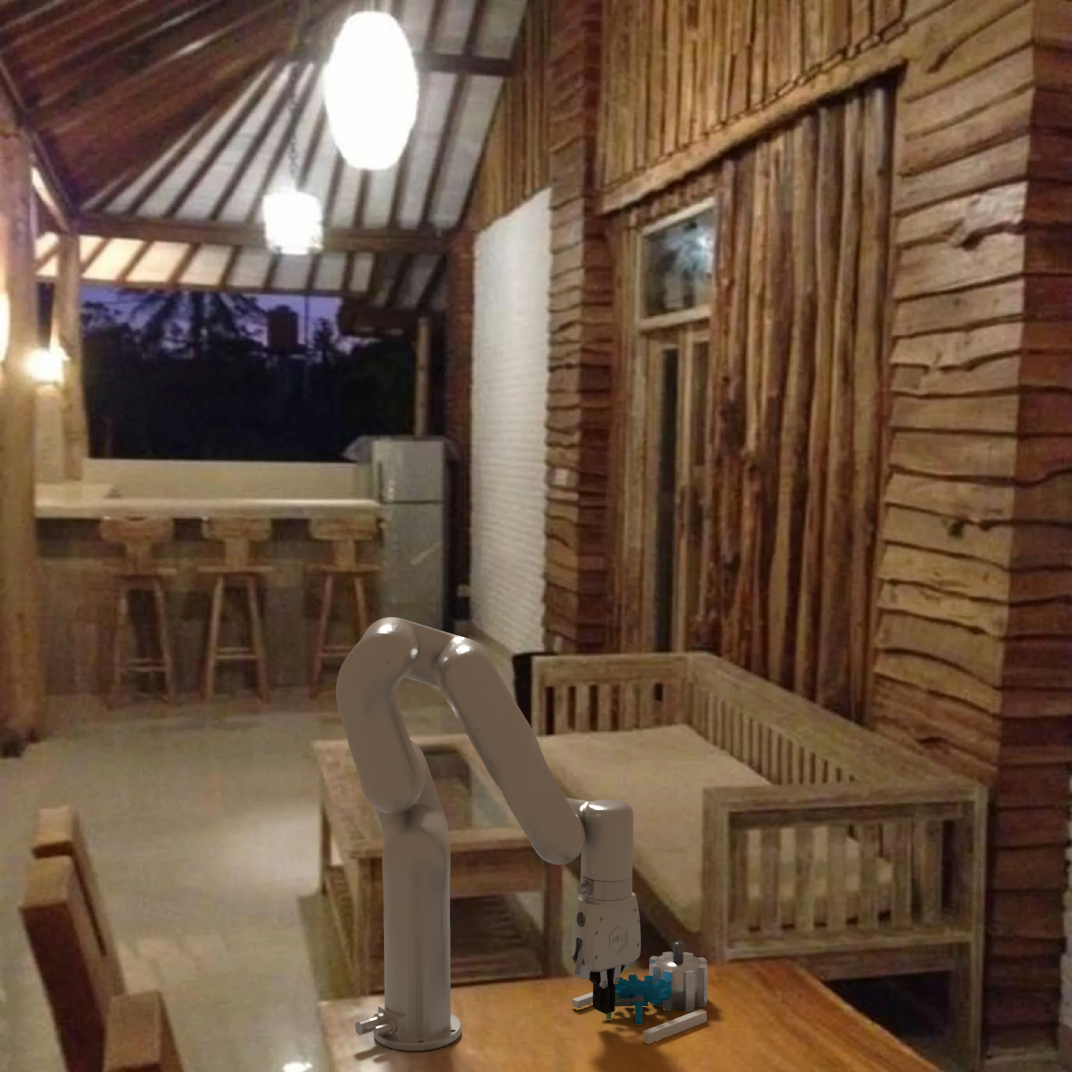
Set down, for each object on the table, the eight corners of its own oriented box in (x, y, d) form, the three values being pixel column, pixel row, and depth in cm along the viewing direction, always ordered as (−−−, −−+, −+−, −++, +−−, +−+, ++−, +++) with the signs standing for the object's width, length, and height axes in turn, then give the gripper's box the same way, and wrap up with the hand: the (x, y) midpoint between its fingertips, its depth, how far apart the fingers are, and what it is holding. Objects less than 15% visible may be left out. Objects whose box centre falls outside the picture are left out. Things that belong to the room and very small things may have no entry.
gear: (676, 996, 201) (665, 968, 194) (677, 1035, 197) (666, 1007, 190) (605, 1000, 203) (591, 972, 196) (605, 1039, 199) (591, 1011, 192)
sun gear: (678, 1017, 198) (679, 957, 197) (637, 999, 204) (637, 941, 204) (719, 1001, 203) (719, 944, 203) (677, 984, 210) (677, 928, 210)
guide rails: (648, 1044, 188) (648, 1033, 188) (572, 1008, 201) (572, 998, 201) (706, 1021, 196) (706, 1011, 196) (629, 988, 208) (629, 979, 208)
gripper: (584, 903, 185) (582, 1031, 186) (661, 883, 195) (658, 1006, 196) (550, 889, 191) (548, 1014, 192) (626, 871, 201) (623, 990, 202)
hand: (603, 1009), depth 194 cm, fingers closed
